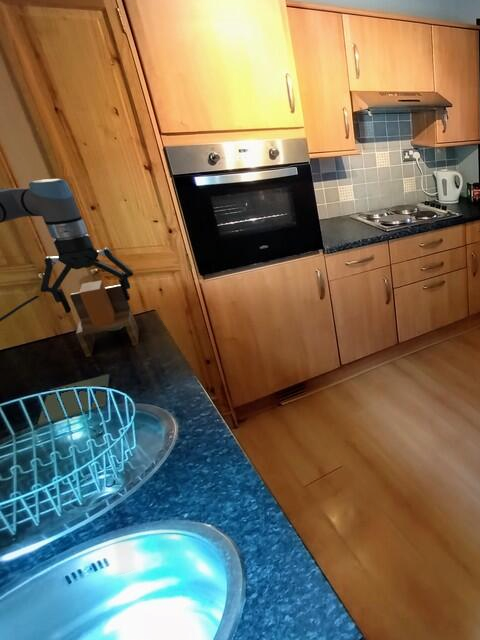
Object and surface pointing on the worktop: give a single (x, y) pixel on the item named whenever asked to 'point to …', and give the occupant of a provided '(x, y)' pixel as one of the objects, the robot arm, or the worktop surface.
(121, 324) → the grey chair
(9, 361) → the worktop surface
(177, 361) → the worktop surface
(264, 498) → the worktop surface
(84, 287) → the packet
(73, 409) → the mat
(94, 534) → the worktop surface
